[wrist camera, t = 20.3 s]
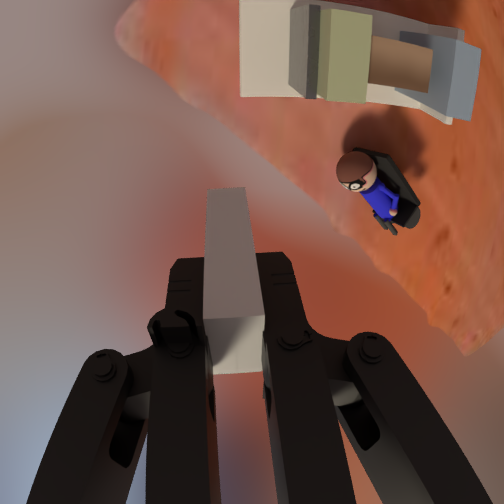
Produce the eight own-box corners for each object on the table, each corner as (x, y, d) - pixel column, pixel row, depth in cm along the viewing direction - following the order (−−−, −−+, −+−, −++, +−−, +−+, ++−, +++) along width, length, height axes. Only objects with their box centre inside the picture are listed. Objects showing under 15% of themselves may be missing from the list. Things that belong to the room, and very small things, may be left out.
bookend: (290, 9, 27) (309, 4, 20) (299, 10, 27) (320, 5, 20) (288, 84, 32) (305, 98, 26) (297, 84, 32) (316, 99, 26)
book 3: (400, 30, 28) (456, 39, 19) (423, 36, 28) (481, 49, 20) (394, 90, 33) (445, 116, 24) (417, 93, 33) (470, 121, 25)
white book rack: (239, -3, 26) (243, -12, 21) (428, 25, 28) (464, 30, 22) (239, 94, 34) (244, 108, 28) (419, 106, 36) (451, 124, 30)
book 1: (299, 14, 27) (331, 8, 19) (330, 17, 27) (372, 15, 19) (297, 80, 32) (326, 100, 24) (327, 82, 32) (365, 103, 24)
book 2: (329, 31, 28) (366, 34, 21) (385, 40, 29) (433, 49, 21) (327, 68, 31) (362, 82, 23) (382, 74, 32) (427, 93, 24)
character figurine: (376, 222, 48) (322, 155, 40) (413, 196, 45) (364, 123, 37) (393, 255, 42) (336, 185, 35) (435, 227, 39) (387, 148, 31)
